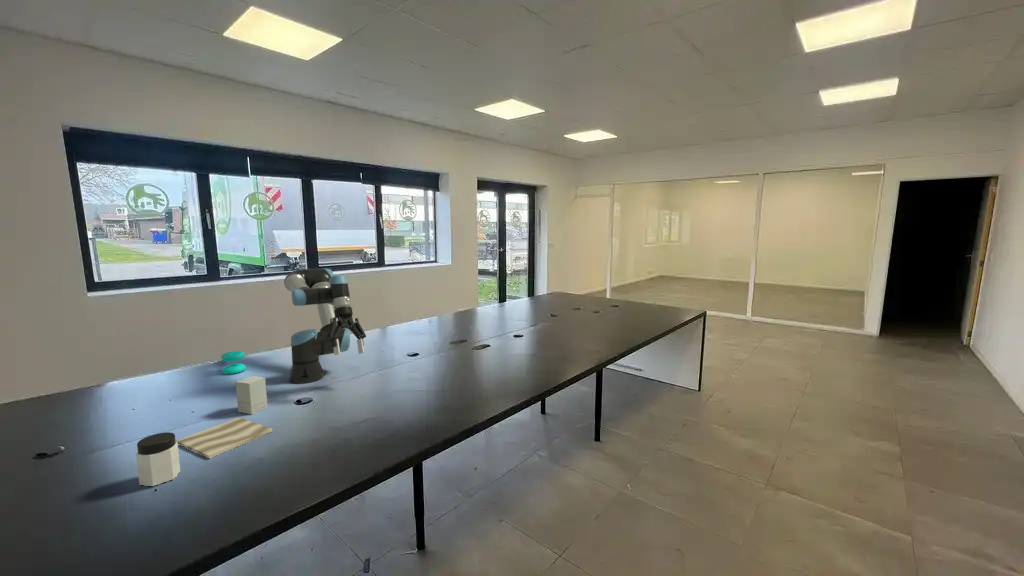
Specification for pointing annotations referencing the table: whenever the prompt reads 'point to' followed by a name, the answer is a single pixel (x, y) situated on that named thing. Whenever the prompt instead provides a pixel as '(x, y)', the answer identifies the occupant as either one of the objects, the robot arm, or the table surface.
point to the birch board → (224, 437)
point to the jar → (157, 459)
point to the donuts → (233, 357)
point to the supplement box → (251, 394)
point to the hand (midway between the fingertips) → (349, 353)
